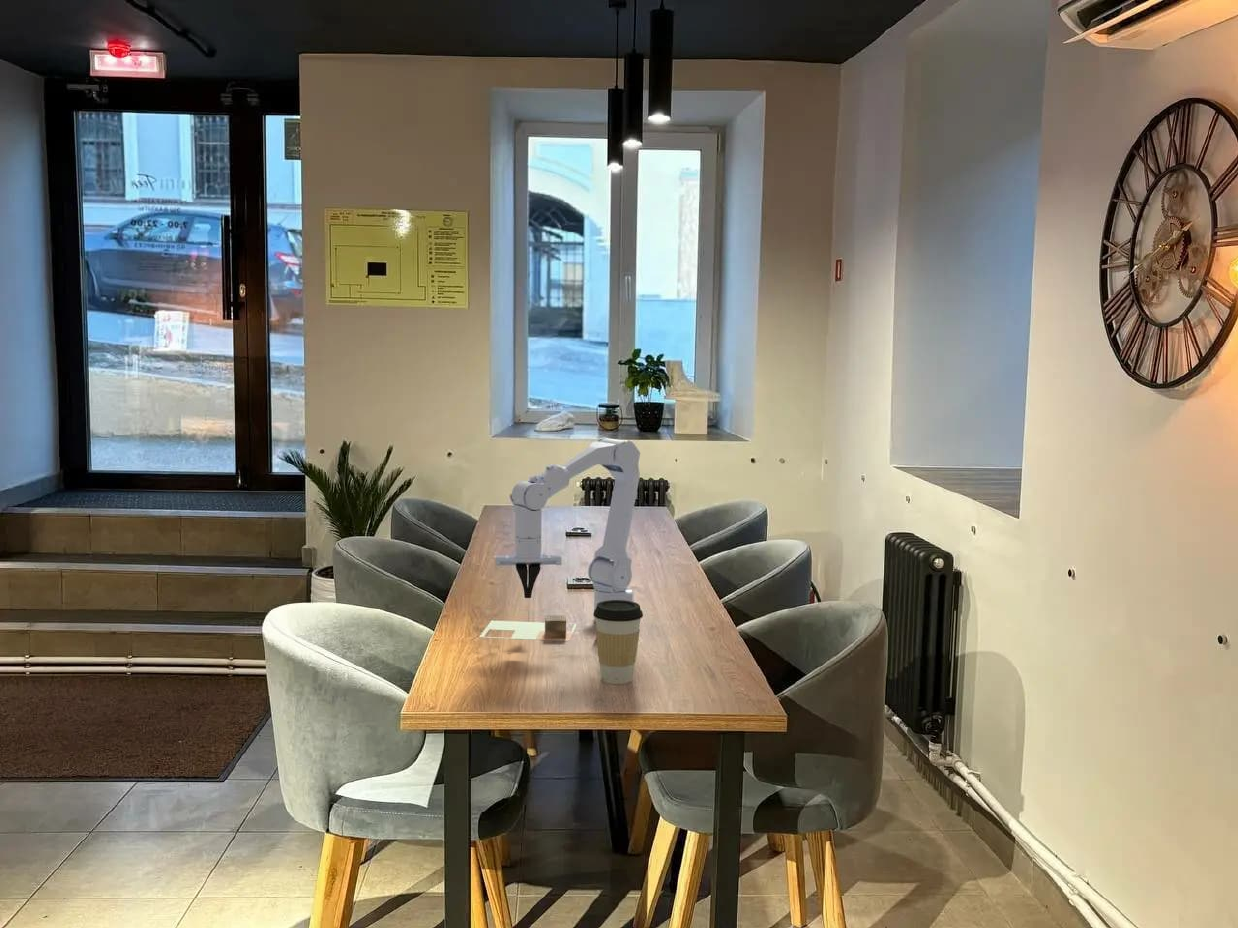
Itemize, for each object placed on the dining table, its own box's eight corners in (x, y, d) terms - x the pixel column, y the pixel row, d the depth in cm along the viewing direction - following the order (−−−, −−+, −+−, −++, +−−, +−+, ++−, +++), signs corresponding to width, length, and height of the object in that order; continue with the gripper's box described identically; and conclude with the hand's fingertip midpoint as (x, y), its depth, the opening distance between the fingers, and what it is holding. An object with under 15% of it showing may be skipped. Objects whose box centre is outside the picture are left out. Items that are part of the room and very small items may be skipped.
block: (564, 632, 237) (565, 615, 236) (565, 638, 232) (566, 620, 232) (544, 632, 236) (544, 615, 236) (545, 638, 232) (545, 620, 231)
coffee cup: (640, 671, 215) (641, 599, 213) (642, 687, 205) (644, 611, 203) (591, 671, 215) (593, 598, 213) (592, 686, 205) (593, 611, 203)
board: (576, 630, 244) (576, 623, 244) (569, 647, 231) (569, 640, 230) (491, 626, 246) (491, 620, 246) (478, 643, 232) (478, 637, 232)
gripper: (559, 532, 237) (558, 592, 239) (494, 533, 235) (494, 593, 237) (562, 538, 230) (561, 599, 232) (495, 539, 228) (495, 600, 230)
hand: (527, 597), depth 234 cm, fingers closed
